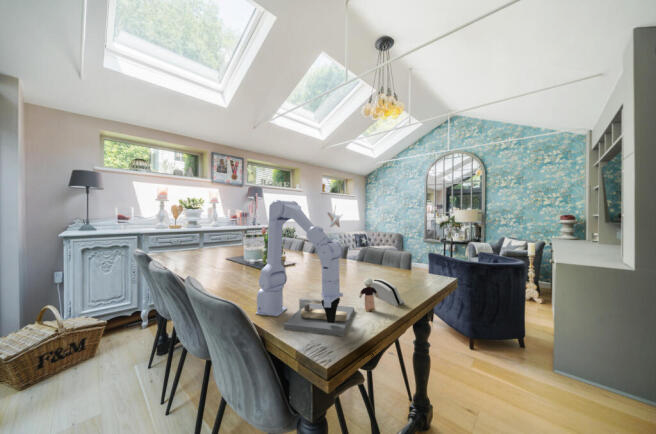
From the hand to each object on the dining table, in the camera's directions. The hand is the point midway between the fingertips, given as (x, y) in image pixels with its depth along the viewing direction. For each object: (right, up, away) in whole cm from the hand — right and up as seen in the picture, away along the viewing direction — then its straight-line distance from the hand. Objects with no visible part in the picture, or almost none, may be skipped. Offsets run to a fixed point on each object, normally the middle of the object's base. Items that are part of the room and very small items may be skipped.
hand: (331, 321), depth 74 cm
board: (-3, -3, +8) cm, 9 cm away
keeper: (-8, -2, +13) cm, 15 cm away
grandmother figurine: (+15, -3, +16) cm, 22 cm away
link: (-3, -1, +5) cm, 6 cm away
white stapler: (+24, -3, +27) cm, 37 cm away
